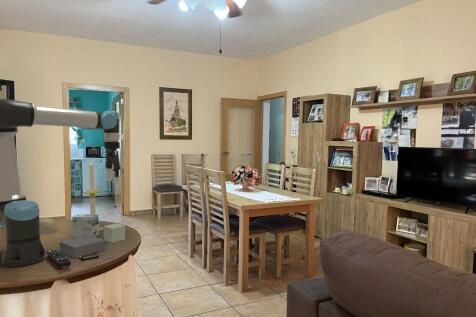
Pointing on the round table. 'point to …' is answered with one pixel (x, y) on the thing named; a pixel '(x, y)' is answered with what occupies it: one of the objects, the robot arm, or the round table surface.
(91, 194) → the candle
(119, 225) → the green cube
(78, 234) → the light bulb box
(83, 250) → the base block
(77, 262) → the round table surface
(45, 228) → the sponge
